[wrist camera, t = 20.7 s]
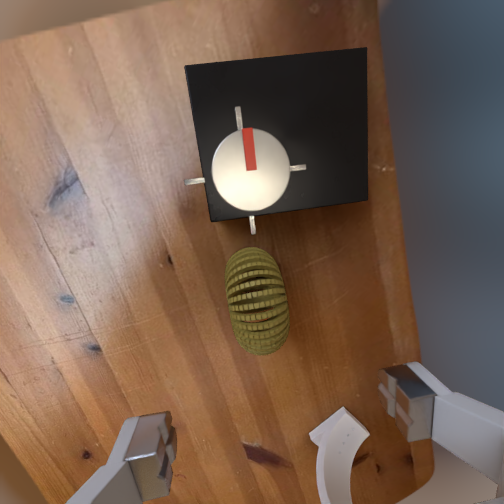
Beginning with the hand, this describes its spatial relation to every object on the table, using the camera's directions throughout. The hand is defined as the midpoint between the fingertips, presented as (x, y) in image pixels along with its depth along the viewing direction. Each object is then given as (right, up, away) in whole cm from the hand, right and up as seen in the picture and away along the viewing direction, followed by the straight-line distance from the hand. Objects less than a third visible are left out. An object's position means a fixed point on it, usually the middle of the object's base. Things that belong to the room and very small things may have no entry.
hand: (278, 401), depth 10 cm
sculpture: (-1, +3, +14) cm, 14 cm away
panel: (+1, +14, +11) cm, 18 cm away
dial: (-1, +11, +8) cm, 14 cm away
